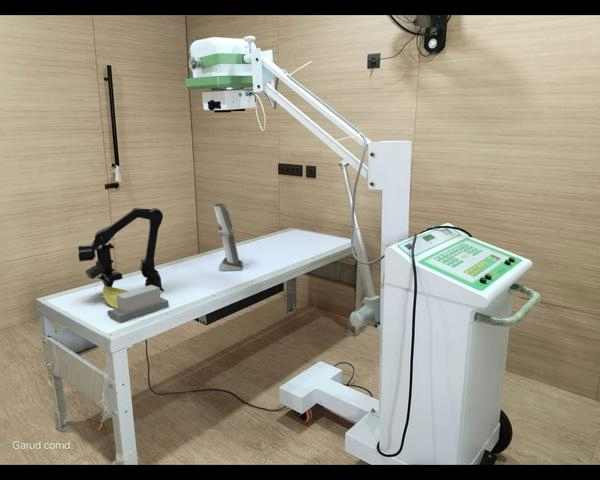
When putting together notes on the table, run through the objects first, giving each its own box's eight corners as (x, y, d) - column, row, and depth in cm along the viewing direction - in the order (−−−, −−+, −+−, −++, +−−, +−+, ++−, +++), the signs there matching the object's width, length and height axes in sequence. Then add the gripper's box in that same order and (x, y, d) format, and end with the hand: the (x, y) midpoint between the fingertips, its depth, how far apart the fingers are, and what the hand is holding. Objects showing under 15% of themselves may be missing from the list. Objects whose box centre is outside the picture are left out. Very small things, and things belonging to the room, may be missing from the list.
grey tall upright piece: (219, 265, 264) (215, 202, 256) (243, 264, 265) (239, 202, 257) (218, 271, 253) (213, 206, 245) (242, 270, 254) (238, 205, 246)
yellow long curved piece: (149, 297, 211) (133, 294, 202) (144, 314, 210) (128, 311, 201) (118, 288, 220) (101, 285, 211) (113, 303, 219) (96, 301, 210)
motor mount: (154, 300, 213) (151, 280, 211) (168, 307, 205) (166, 286, 203) (106, 315, 198) (103, 294, 196) (120, 323, 190) (117, 301, 188)
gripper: (77, 259, 215) (82, 291, 218) (96, 266, 202) (100, 301, 206) (101, 253, 223) (105, 285, 226) (121, 260, 210) (125, 294, 214)
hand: (108, 291), depth 218 cm, fingers closed
